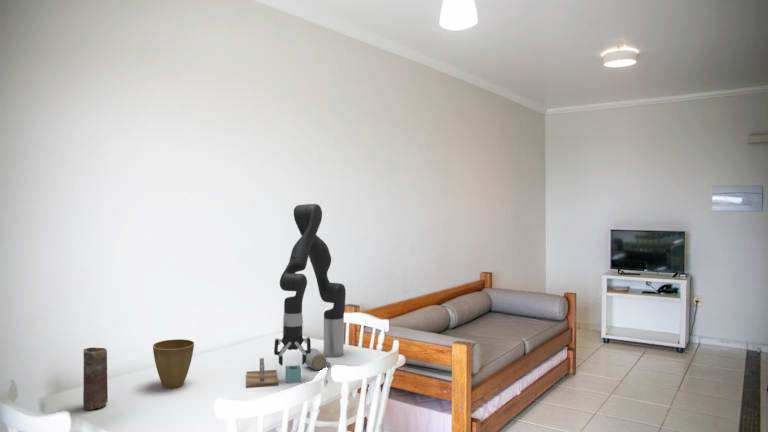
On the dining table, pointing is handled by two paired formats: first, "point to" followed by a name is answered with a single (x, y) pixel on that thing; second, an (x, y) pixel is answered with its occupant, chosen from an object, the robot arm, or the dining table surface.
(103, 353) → the candle
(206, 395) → the dining table surface
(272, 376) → the pin board
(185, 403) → the dining table surface
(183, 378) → the plant pot
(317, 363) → the ceramic mug
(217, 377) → the dining table surface
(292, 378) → the collar block
